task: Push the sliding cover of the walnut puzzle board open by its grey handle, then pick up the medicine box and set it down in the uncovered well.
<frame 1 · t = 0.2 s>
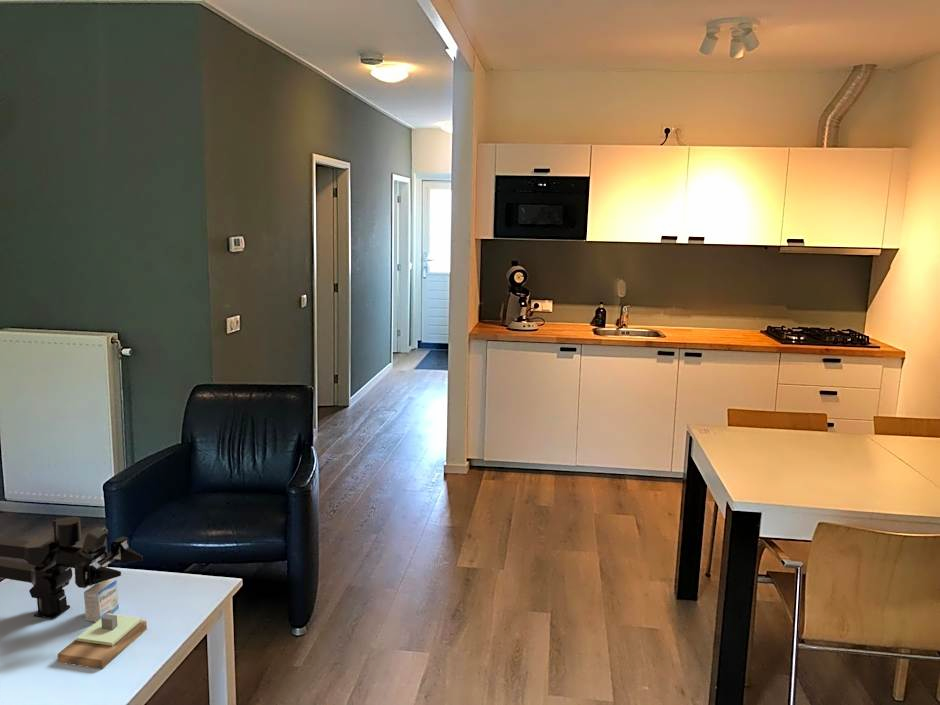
hand: (131, 565, 200), 17 cm above the table, tool horizontal, fingers open, 9 cm apart
cover: (109, 623, 194), point 5 cm above the table, slide at 0.0 cm
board: (104, 645, 192), on the table
medicine box: (102, 615, 207), on the table
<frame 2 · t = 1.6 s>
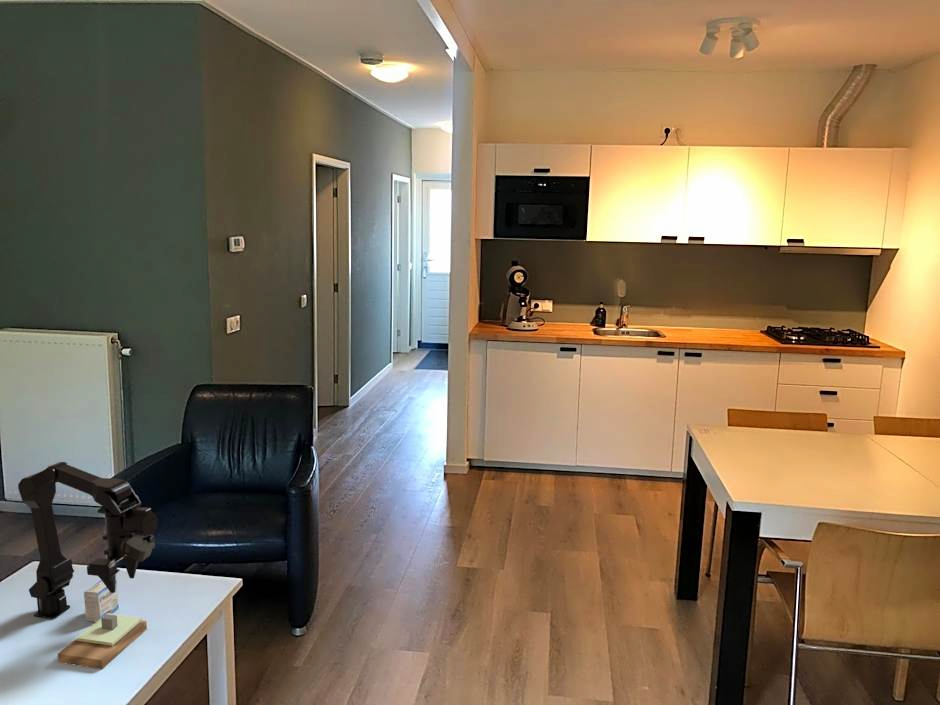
hand: (122, 585, 198), 12 cm above the table, tool pointing down, fingers open, 8 cm apart
nothing on the table moved.
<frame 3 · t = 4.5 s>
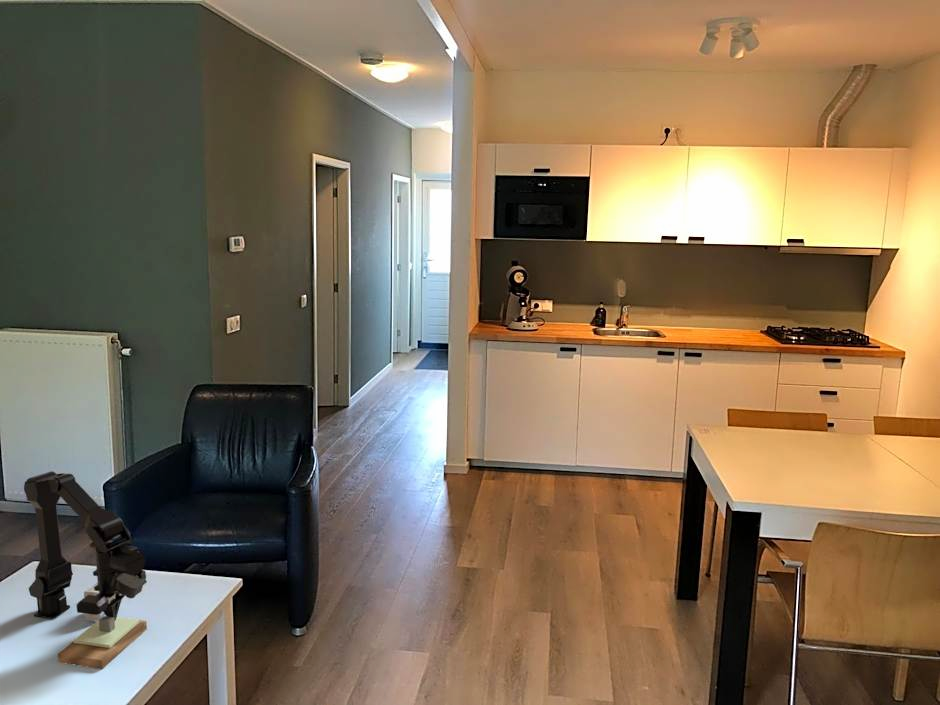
hand: (112, 621, 195), 5 cm above the table, tool pointing down, fingers closed
cover: (107, 625, 193), point 5 cm above the table, slide at 1.0 cm, touching gripper
everything else where it was.
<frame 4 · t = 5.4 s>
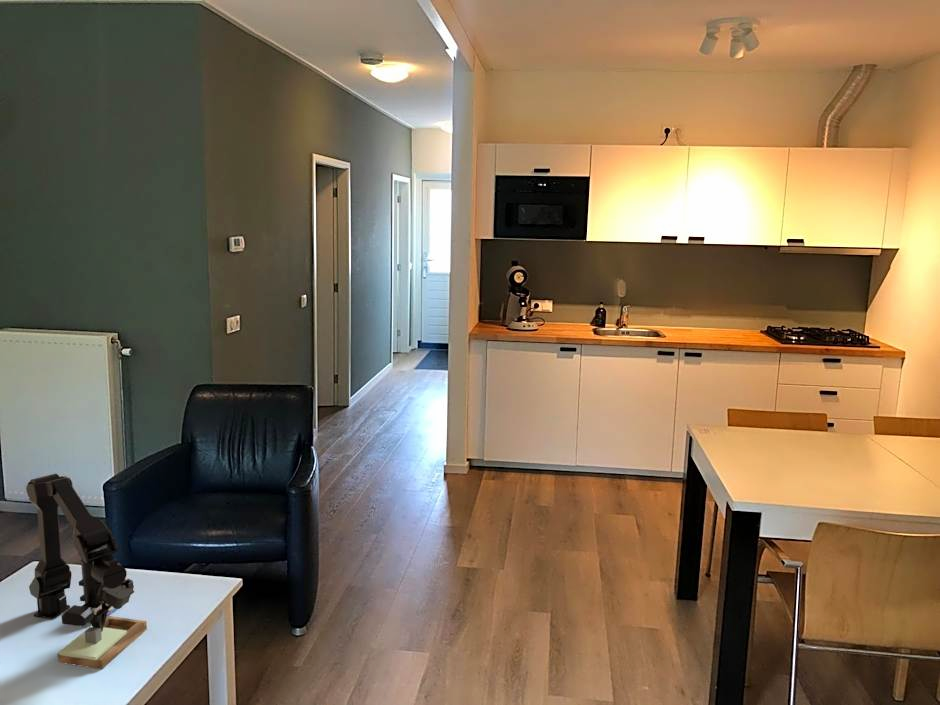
hand: (99, 632, 190), 5 cm above the table, tool pointing down, fingers closed
cover: (93, 636, 188), point 5 cm above the table, slide at 6.3 cm, touching gripper
everything else where it was.
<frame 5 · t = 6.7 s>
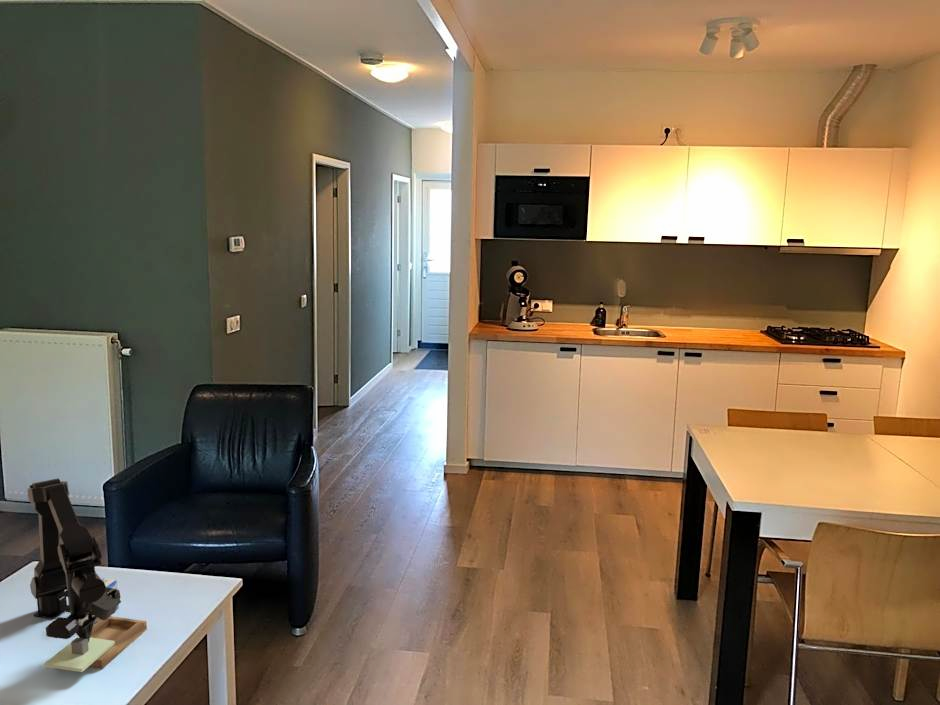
hand: (86, 642, 185), 5 cm above the table, tool pointing down, fingers closed
cover: (80, 647, 183), point 5 cm above the table, slide at 11.1 cm, touching gripper
everything else where it was.
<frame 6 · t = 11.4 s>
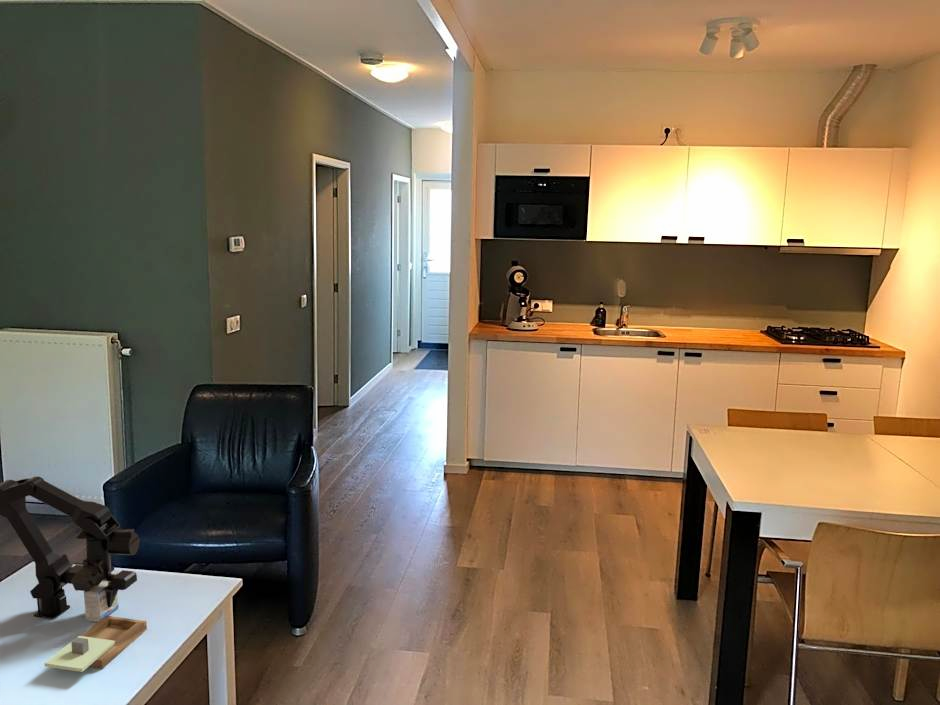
hand: (102, 605, 206), 3 cm above the table, tool pointing down, fingers closed on medicine box, 4 cm apart
cover: (80, 647, 183), point 5 cm above the table, slide at 11.0 cm
medicine box: (102, 615, 207), on the table, touching gripper
when the fingers open (5 cm above the table, at t = 15.0 s): medicine box stays where it is, resting on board.
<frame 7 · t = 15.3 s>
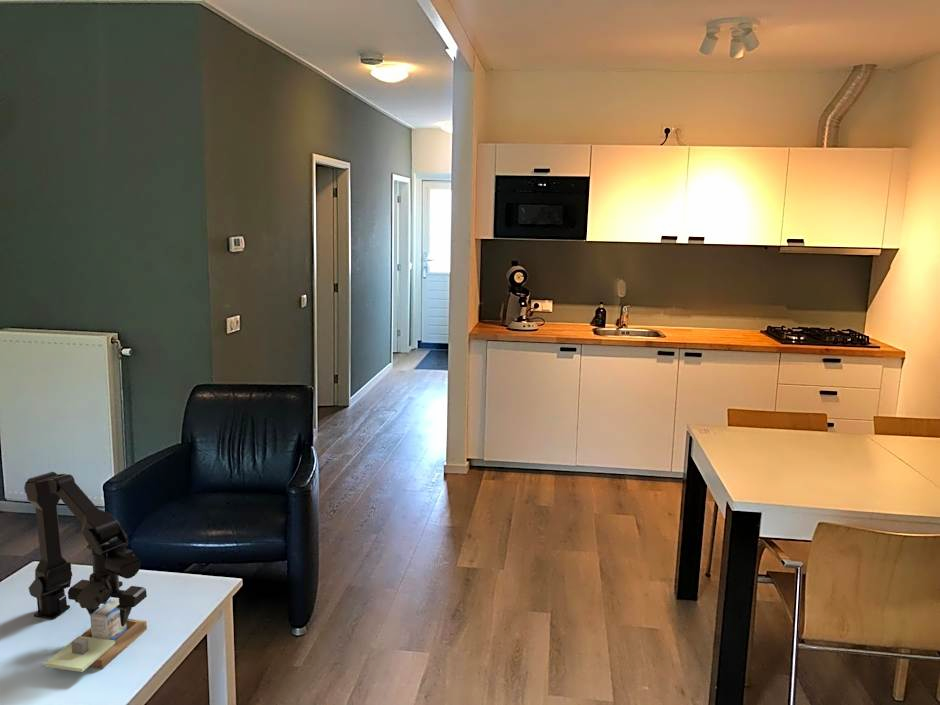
hand: (109, 623, 194), 5 cm above the table, tool pointing down, fingers open, 8 cm apart
medicine box: (109, 638, 195), resting on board
everything else where it was.
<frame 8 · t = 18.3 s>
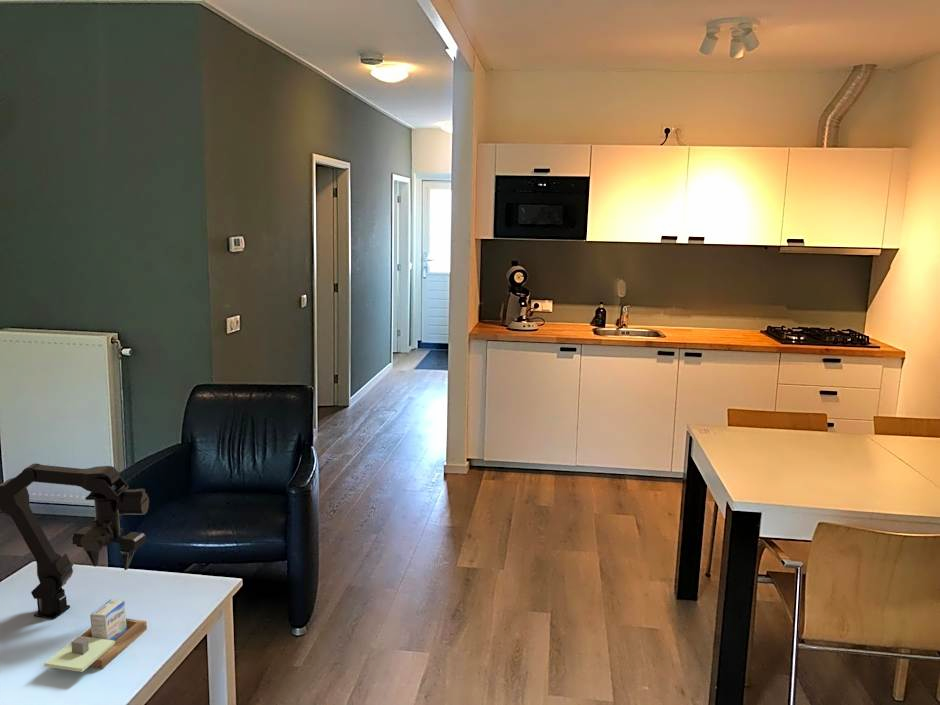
hand: (110, 567, 206), 13 cm above the table, tool pointing down, fingers open, 9 cm apart
nothing on the table moved.
at the end: medicine box inside the target area on the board (0.1 cm from its centre), point 0.4 cm above the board's base; cover slide at 11.0 cm; the gripper is holding nothing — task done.
